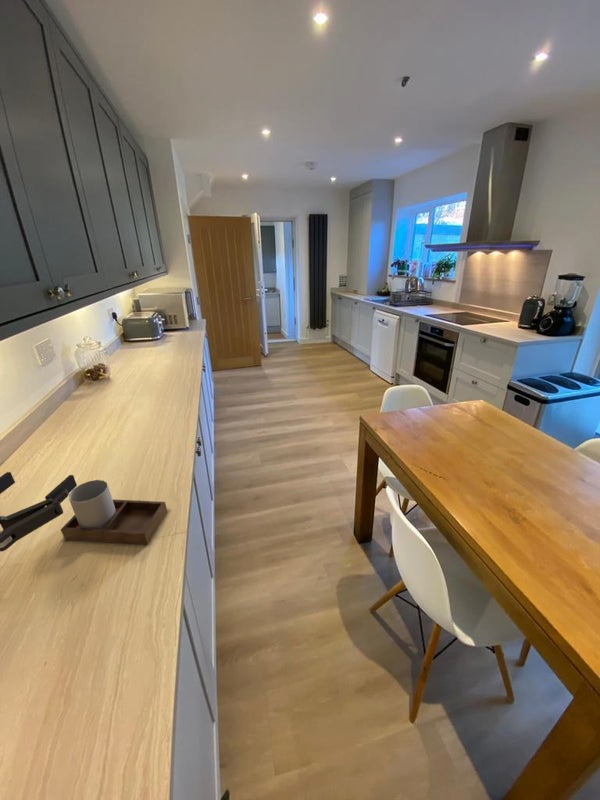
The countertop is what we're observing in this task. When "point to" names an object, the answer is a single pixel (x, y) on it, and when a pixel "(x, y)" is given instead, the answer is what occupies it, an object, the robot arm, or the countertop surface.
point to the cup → (92, 504)
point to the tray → (122, 524)
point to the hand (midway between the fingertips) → (42, 478)
